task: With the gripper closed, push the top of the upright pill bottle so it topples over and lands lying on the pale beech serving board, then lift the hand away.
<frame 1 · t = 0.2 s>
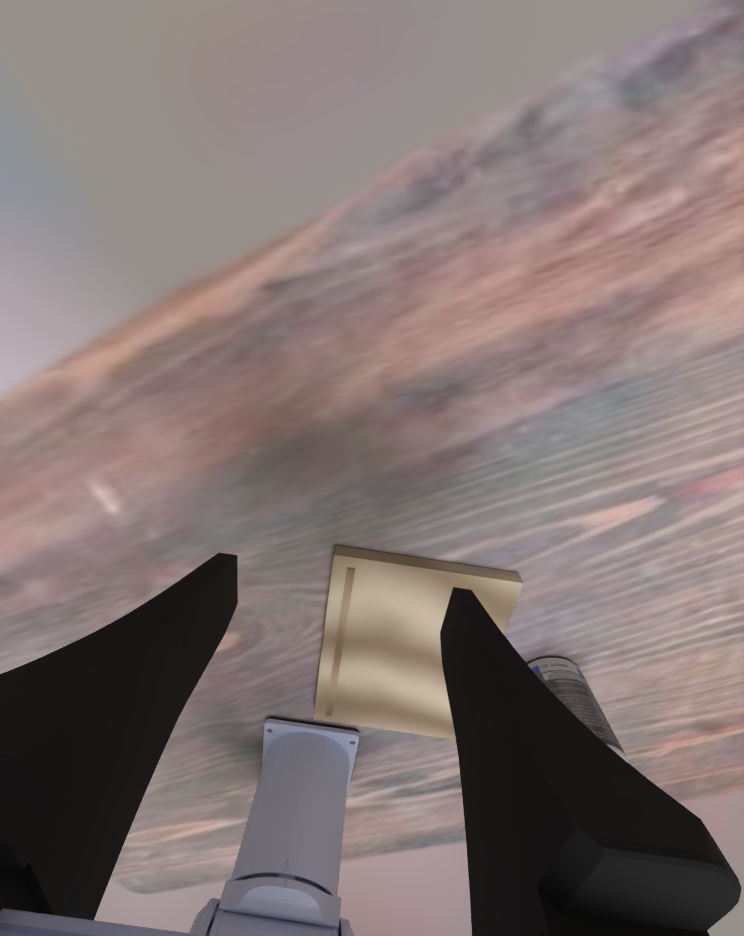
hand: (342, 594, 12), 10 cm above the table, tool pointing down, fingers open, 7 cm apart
pill bottle: (546, 675, 27), on the table
beech board: (405, 647, 26), on the table
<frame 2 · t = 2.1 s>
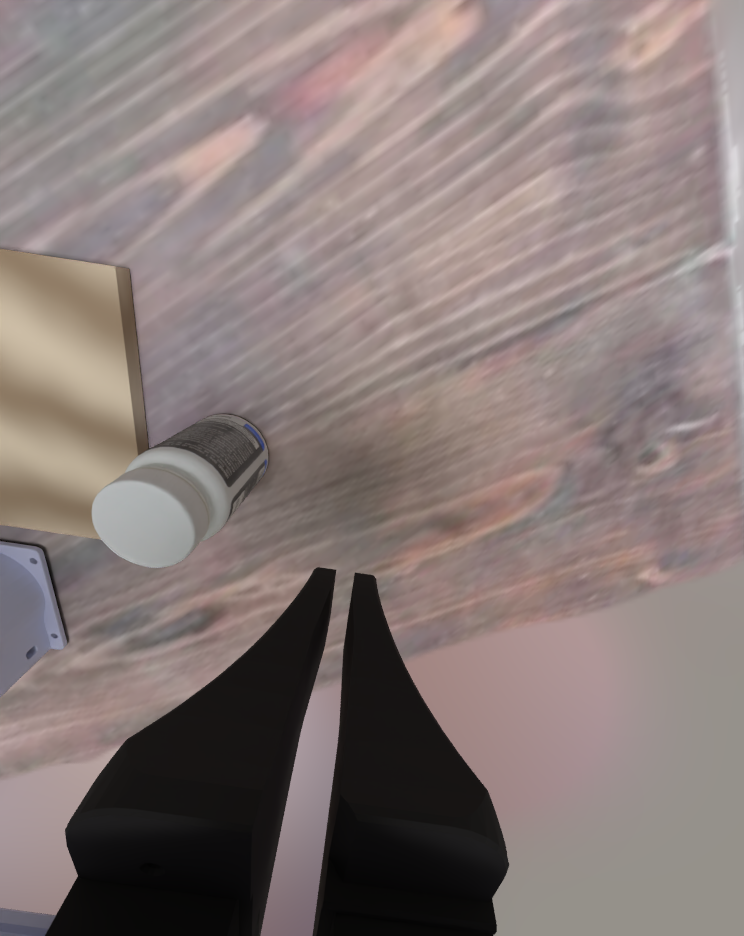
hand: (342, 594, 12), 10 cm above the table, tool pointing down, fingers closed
pill bottle: (232, 450, 22), on the table
beech board: (43, 407, 21), on the table
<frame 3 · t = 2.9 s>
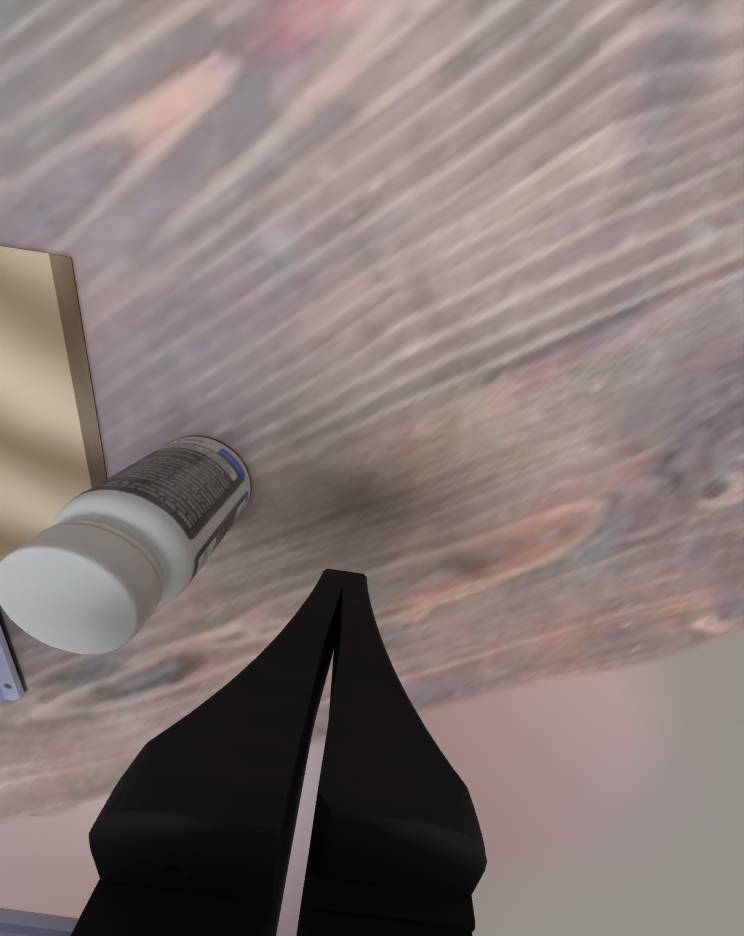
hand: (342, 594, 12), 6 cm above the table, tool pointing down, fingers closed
pill bottle: (207, 478, 18), on the table
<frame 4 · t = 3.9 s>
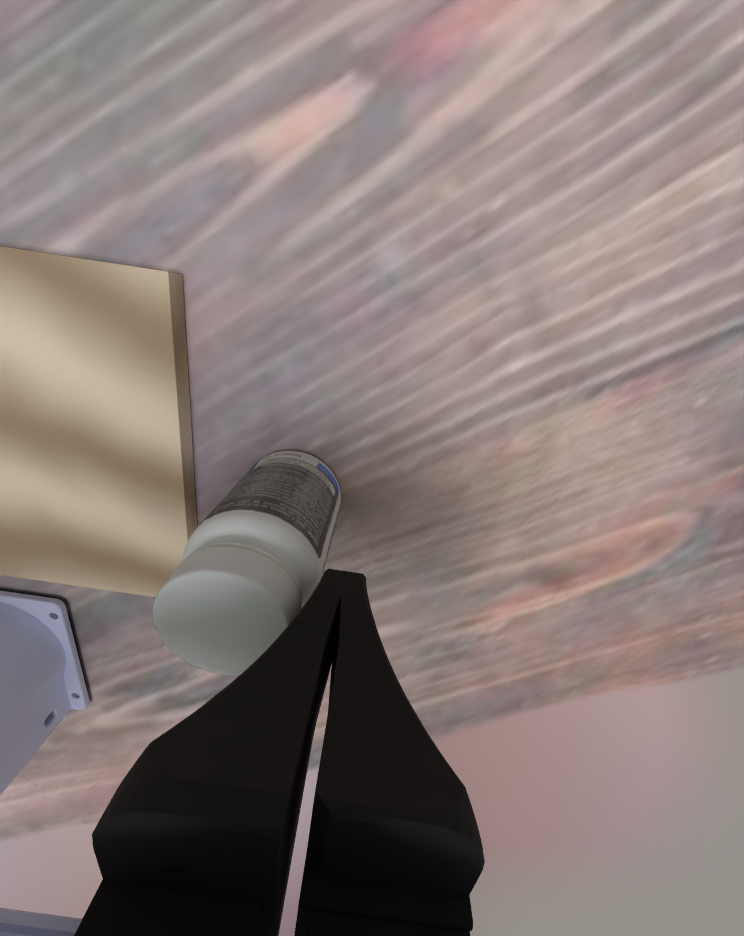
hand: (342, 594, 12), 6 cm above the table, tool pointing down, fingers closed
pill bottle: (296, 491, 18), on the table, touching gripper
beech board: (69, 442, 17), on the table
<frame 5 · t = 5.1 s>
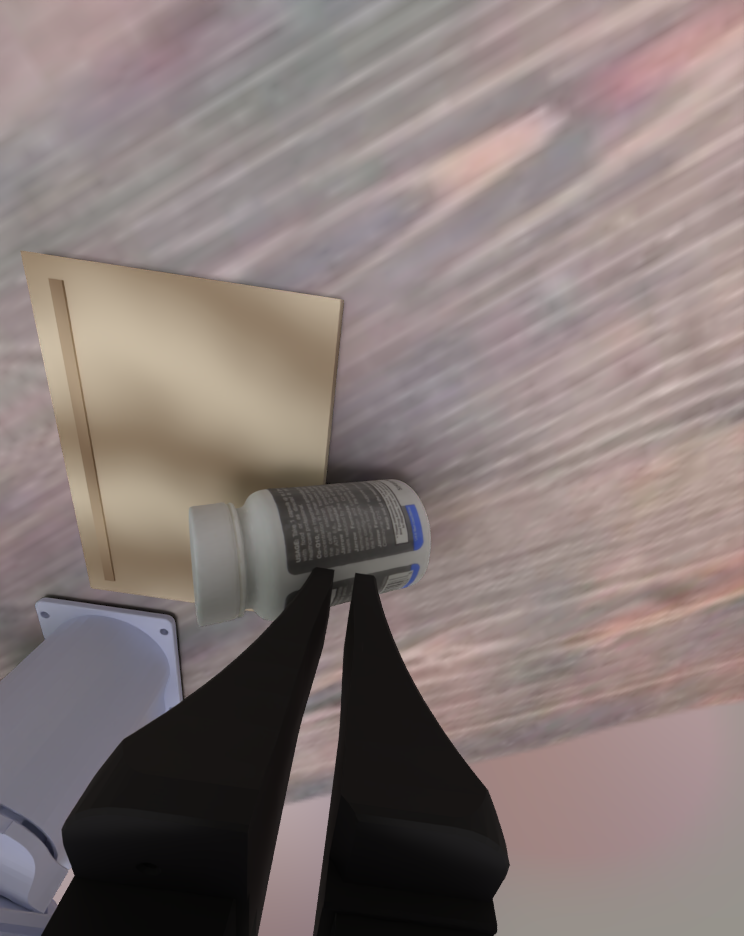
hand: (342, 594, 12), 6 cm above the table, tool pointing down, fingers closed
pill bottle: (405, 531, 16), point 2 cm above the table, touching gripper
beech board: (203, 462, 17), on the table
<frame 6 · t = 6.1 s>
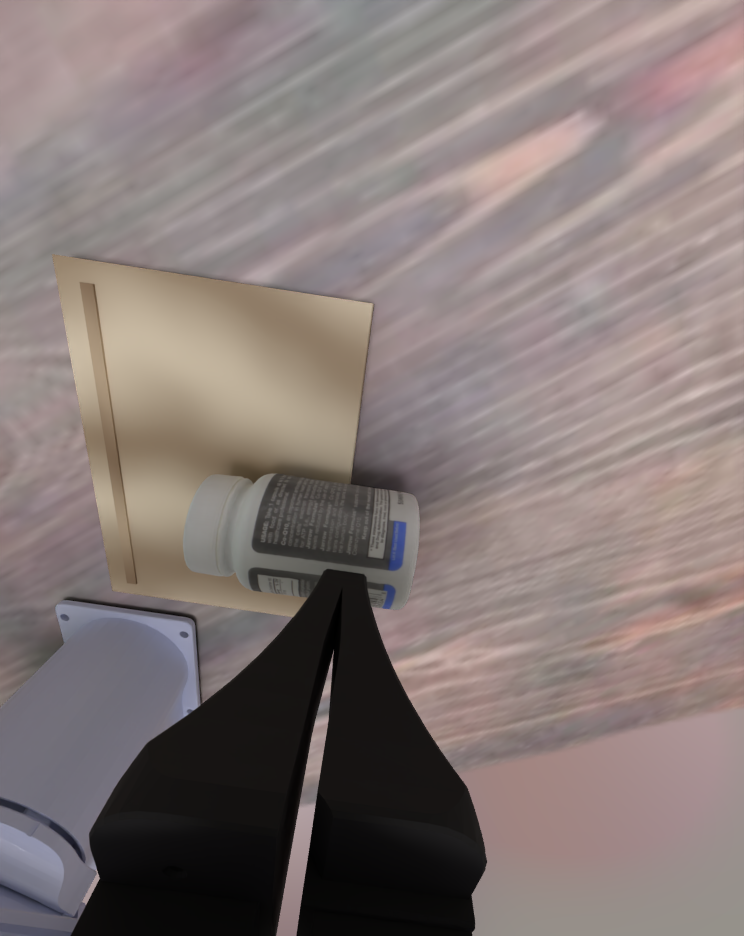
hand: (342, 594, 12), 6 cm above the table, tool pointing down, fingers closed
pill bottle: (413, 551, 15), point 3 cm above the table, touching beech board
beech board: (227, 465, 17), on the table
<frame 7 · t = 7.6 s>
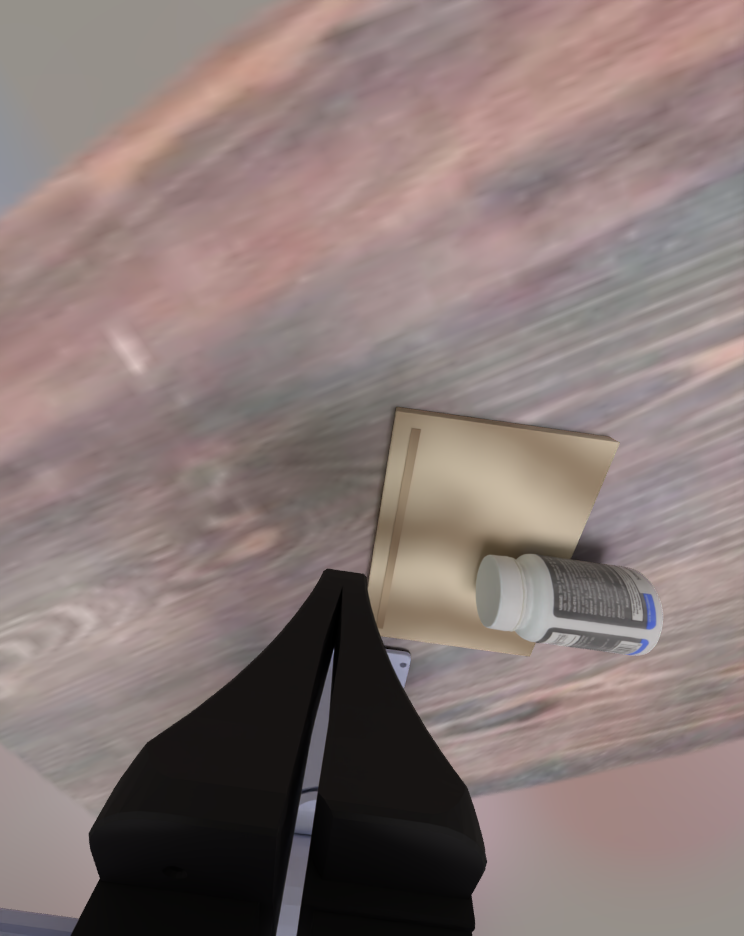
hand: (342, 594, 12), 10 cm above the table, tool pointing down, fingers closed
pill bottle: (635, 611, 20), point 3 cm above the table, touching beech board
beech board: (469, 541, 23), on the table
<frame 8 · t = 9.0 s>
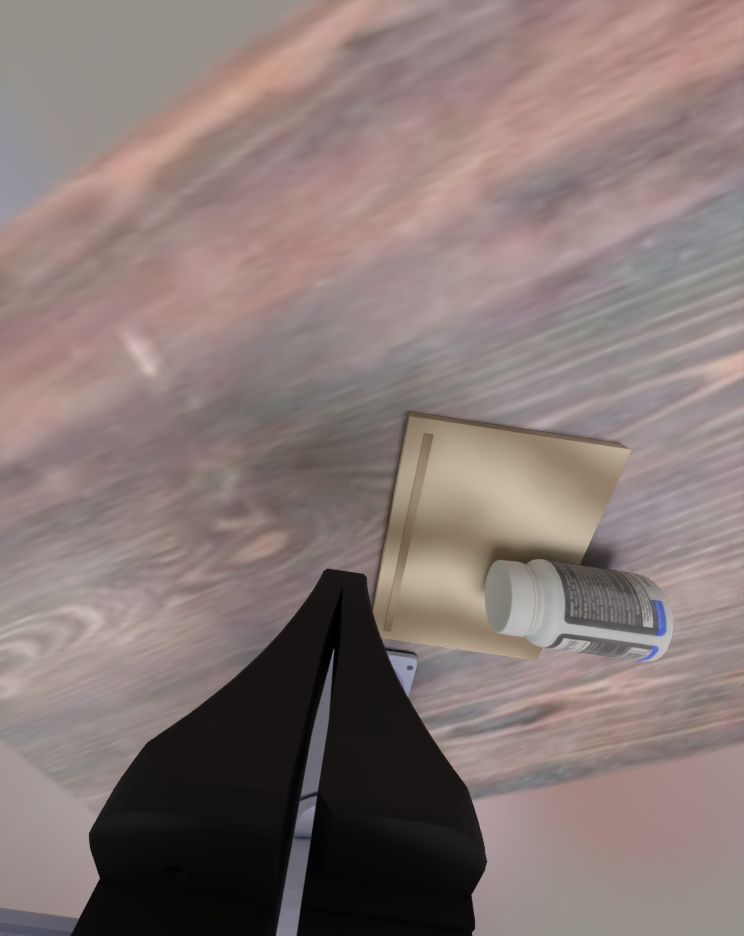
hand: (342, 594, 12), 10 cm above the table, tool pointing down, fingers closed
pill bottle: (644, 617, 21), point 3 cm above the table, touching beech board
beech board: (478, 546, 23), on the table
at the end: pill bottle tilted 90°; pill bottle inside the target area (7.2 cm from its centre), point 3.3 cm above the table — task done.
